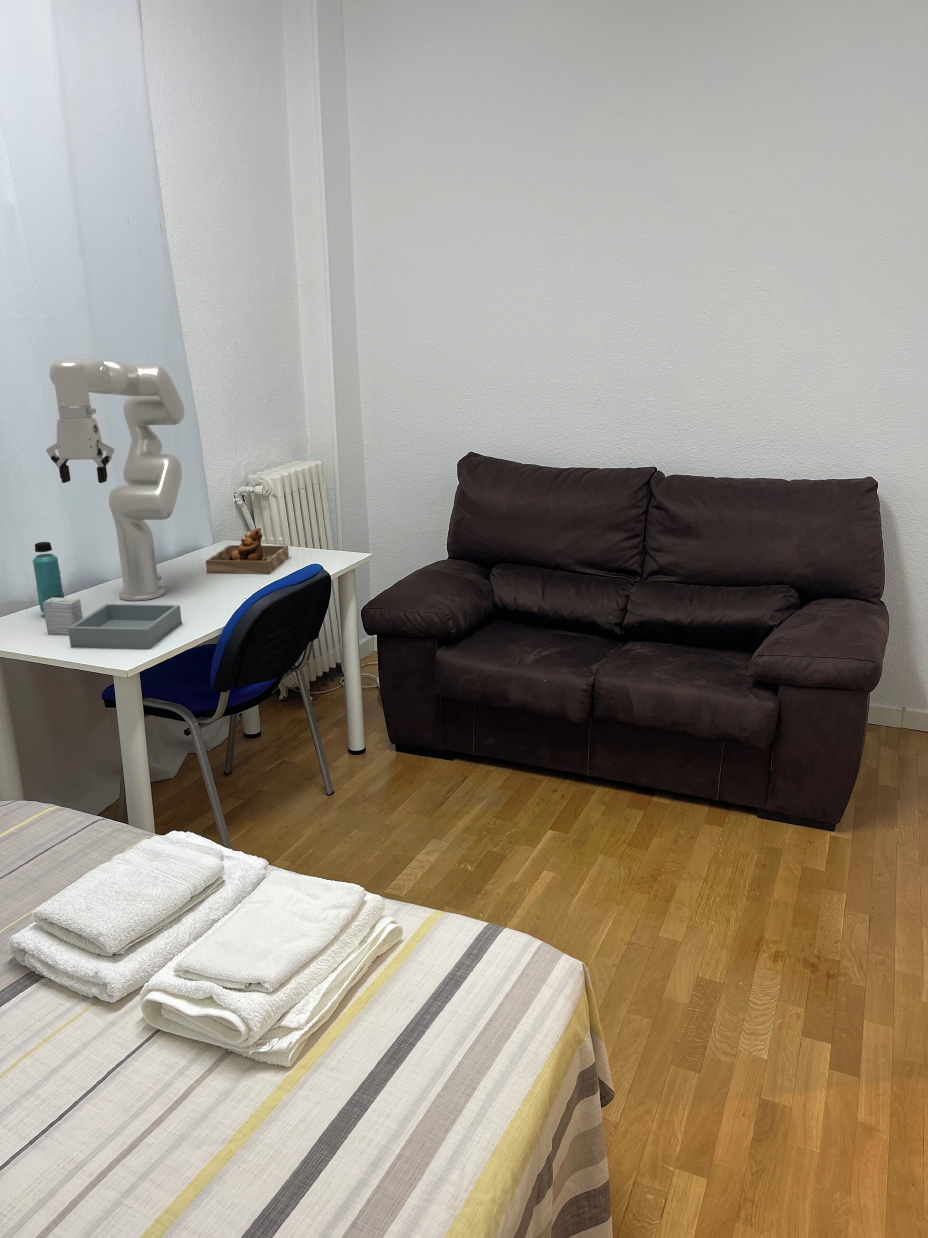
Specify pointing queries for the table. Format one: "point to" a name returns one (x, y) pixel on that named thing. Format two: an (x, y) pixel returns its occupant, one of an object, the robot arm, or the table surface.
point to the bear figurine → (250, 548)
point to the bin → (125, 626)
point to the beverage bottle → (47, 574)
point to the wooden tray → (225, 566)
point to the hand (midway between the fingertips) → (84, 481)
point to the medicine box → (61, 614)
